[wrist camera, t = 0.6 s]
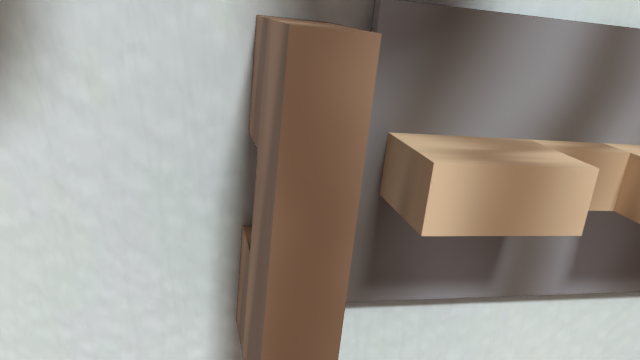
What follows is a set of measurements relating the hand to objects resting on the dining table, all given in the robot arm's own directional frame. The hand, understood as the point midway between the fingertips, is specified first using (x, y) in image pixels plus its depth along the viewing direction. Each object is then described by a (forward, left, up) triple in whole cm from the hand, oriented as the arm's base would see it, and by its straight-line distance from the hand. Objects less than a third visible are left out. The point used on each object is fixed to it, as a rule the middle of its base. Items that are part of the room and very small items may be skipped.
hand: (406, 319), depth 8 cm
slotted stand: (-12, +1, -13) cm, 18 cm away
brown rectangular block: (0, +2, -13) cm, 13 cm away
